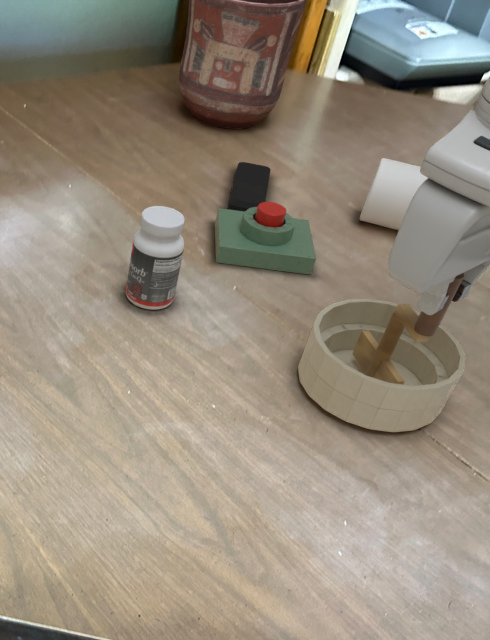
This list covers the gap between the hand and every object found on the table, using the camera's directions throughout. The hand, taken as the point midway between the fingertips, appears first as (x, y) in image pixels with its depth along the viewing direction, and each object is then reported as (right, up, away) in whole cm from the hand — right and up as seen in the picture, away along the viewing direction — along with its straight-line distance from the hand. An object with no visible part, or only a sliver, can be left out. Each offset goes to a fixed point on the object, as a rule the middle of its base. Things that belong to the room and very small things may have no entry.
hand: (440, 303), depth 70 cm
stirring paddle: (-2, -5, +11) cm, 12 cm away
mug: (+11, +23, +38) cm, 46 cm away
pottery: (-10, +49, +58) cm, 76 cm away
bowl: (-2, -5, +12) cm, 13 cm away
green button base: (-10, +16, +30) cm, 35 cm away
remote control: (-9, +28, +40) cm, 49 cm away
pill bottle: (-25, +7, +20) cm, 33 cm away
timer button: (-9, +19, +27) cm, 34 cm away
